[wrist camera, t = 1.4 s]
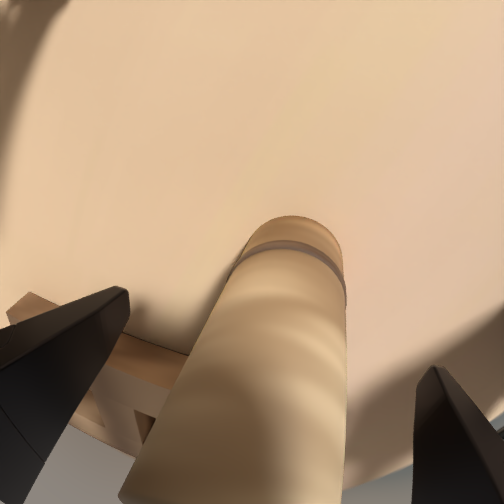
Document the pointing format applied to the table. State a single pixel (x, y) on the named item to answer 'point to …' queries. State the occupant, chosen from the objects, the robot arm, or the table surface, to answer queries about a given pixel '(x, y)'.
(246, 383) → the dowel
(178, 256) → the table surface
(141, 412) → the board
